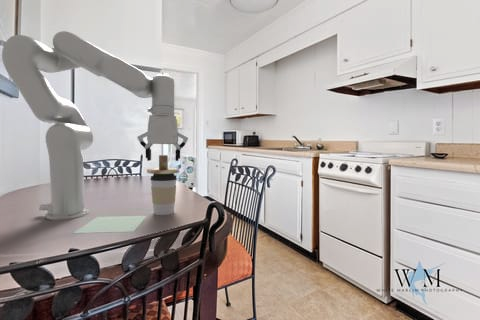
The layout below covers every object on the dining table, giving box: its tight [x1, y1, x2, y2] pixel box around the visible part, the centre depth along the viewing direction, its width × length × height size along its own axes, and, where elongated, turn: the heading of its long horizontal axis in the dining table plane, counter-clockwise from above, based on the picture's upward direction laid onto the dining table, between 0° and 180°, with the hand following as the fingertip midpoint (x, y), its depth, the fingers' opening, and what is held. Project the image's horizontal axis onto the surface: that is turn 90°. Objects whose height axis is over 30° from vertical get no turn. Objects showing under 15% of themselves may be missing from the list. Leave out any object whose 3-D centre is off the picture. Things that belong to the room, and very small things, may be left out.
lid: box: [146, 154, 180, 175], centre depth 92 cm, size 11×11×6 cm
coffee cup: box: [150, 173, 178, 216], centre depth 93 cm, size 9×9×15 cm
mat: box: [73, 215, 148, 234], centre depth 80 cm, size 16×16×1 cm
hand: (163, 160), depth 92 cm, fingers open, 9 cm apart
